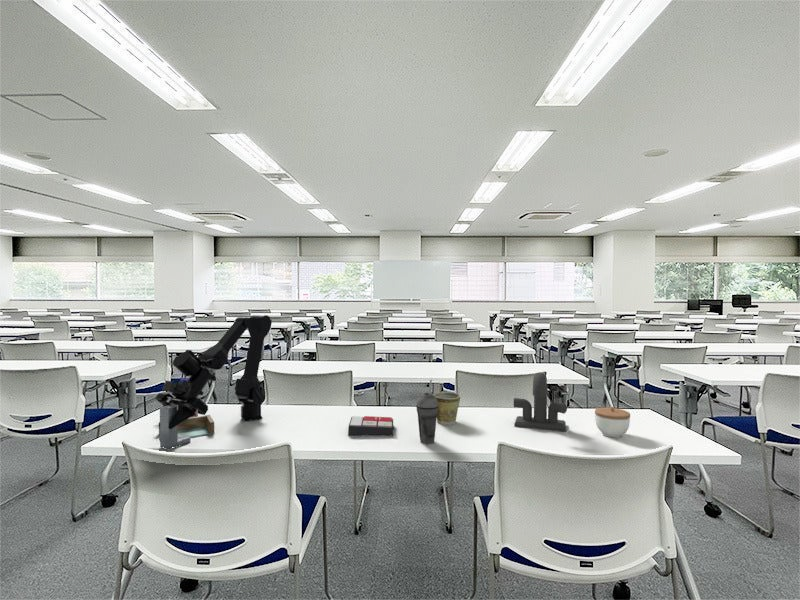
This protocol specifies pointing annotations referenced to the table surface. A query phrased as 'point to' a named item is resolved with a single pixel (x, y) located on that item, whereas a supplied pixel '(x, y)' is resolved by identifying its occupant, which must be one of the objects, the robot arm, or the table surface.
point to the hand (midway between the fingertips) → (164, 427)
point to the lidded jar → (612, 421)
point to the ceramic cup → (447, 407)
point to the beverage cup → (427, 416)
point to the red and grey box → (370, 426)
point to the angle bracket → (170, 435)
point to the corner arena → (195, 426)
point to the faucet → (540, 409)
